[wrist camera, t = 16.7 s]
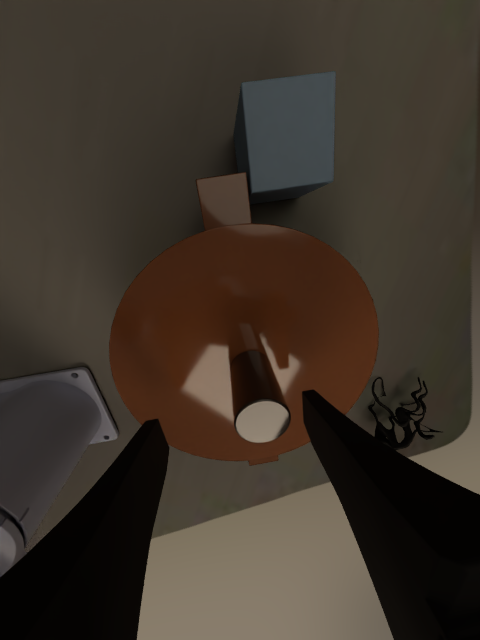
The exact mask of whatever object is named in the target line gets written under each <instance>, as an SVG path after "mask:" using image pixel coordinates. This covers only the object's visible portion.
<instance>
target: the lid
mask: <svg viewBox="0 0 480 640" xmlns="http://www.w3.org/2000/svg"><path fill="white" fill-rule="evenodd" d="M378 338H379V328H378V320H377V314H376V310H375V306H374V303H373V299H372V297H371V295H370V293H369V291H368V288H367V286H366V284H365V283H364V281H363V280H362V278H361V277H360V275H359V274H358V272H357V271H356V269H355V268H354V267H353V266H352V265H351V264H350V263H349V262H348V261H347V260H346V259H345V258H344V257H343V256H342V255H341V254H339V253H338V252H337V251H336V250H334V249H333V248H332V247H331V246H329V245H327V244H326V243H324V242H322V241H320V240H319V239H317V238H315V237H313V236H311V235H308V234H306V233H303V232H300V231H298V230H295V229H291V228H287V227H282V226H277V225H272V224H256V223H247V224H234V225H226V226H222V227H218V228H213V229H209V230H206V231H203V232H200V233H198V234H195V235H193V236H190V237H187V238H185V239H184V240H182V241H180V242H178V243H176V244H175V245H173V246H171V247H169V248H168V249H166V250H165V251H164V252H162V253H161V254H160V255H158V256H157V257H156V258H155V259H153V260H152V261H151V262H150V263H149V264H148V265H147V266H146V267H145V268H144V269H143V270H142V271H141V272H140V273H139V274H138V275H137V276H136V278H135V279H134V281H133V282H132V283H131V285H130V286H129V288H128V289H127V291H126V292H125V294H124V296H123V298H122V300H121V302H120V304H119V306H118V308H117V311H116V314H115V317H114V320H113V324H112V328H111V335H110V342H109V353H110V365H111V370H112V376H113V379H114V382H115V385H116V387H117V390H118V392H119V394H120V396H121V398H122V400H123V402H124V404H125V405H126V407H127V408H128V410H129V411H130V412H131V414H132V415H133V416H134V417H135V419H136V420H137V421H138V422H139V423H140V424H141V425H143V424H144V422H145V421H147V420H153V419H159V422H160V425H161V427H162V430H163V433H164V435H165V438H166V441H167V443H168V445H170V446H172V447H174V448H176V449H179V450H181V451H184V452H186V453H189V454H192V455H195V456H199V457H204V458H208V459H215V460H223V461H248V460H256V459H263V458H268V457H272V456H276V455H280V454H283V453H286V452H289V451H292V450H294V449H296V448H299V447H301V446H303V445H305V444H307V443H309V442H311V441H310V438H309V436H308V433H307V430H306V428H305V425H304V422H303V403H302V391H307V390H312V389H314V390H315V391H317V392H318V393H319V394H320V395H321V396H322V397H324V398H325V399H326V400H327V401H328V402H329V403H331V404H332V405H333V406H334V407H335V408H336V409H338V410H339V411H340V412H341V413H343V414H344V415H345V414H346V413H347V412H348V411H349V410H350V409H351V408H352V406H353V405H354V404H355V402H356V401H357V400H358V398H359V397H360V395H361V394H362V392H363V390H364V389H365V387H366V385H367V383H368V380H369V378H370V376H371V374H372V371H373V367H374V364H375V361H376V356H377V350H378Z"/></svg>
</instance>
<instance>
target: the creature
mask: <svg viewBox="0 0 480 640" xmlns="http://www.w3.org/2000/svg"><path fill="white" fill-rule="evenodd" d="M379 378H380V377H379ZM379 378H377V379H379ZM377 379H375V381H374V382H373V385H372V394H373V396H374V398H375V401H376V402H377V403H378V404H379V405H380V406H382V407H383V408H385V409H386V410H387V411H388V412H389V413H390V415H391V417H389V420H390V422H391V423H392V429H390V430H388V429H386V428H385V427H384V426H383V425H382V423H381V422H379V421H378V419H377V416H376V413H375V412H374V411H373V409H372V407H373V406H374V405H375V401H374V404H372V405H370V406H369V410H370V411H371V413H372V414H373V415H374V417H375V419H376V422H377V425H376V429H375V438H376V439H378V440H379V441H381V442H382V443H384V444H385V445H387V446H389V447H390V448H392V449H393V450H395V451H396V450H399V449H403V448H406V447H408V446H409V445H410V443H411V442H412V440H413V438H414V436H415V433H416V432H418V434H419V435H420V436H421V437H423V438H424V439H426V440H427V439H432V438H433V437H434V435H424V434H423V433H422V432H421V431H422V430H420V422H421V421H422V420H423V418H424V415H425V412H426V406H425V403H424V402H423V401H422V398H424V397H425V396H426V395H427V393H428V391H427V388H426V385H425V382H424V381H423V385H424V387H425V389H426V393H424V394H422V395H420V396H419V397H418V399H417V398H416V394H417V393H419V392H421V390H422V387H421V383H420V379H419V378H418V382H419V384H420V389H419V390H417V391H414V392H412V393H411V396H412V397H413V398H414V400H415V402H414V403H416V404H417V408H416V410H414V411H409V410H407V409H405V408H403V407H398V408H397V409H396V410H395V414H396V416H394V414H393V412H392V411H391V410H390V409H389V408H388V407H387V406H385V405H384V404H382V403H381V402H380V401H379V399H378V398H379V397H378V398H377V396H376V394H375V392H374V385H375V382H376V380H377ZM380 379H381V380H382V378H380ZM382 388H383V392H384V386H383V380H382ZM382 396H386V394H385V392H384V394H383V395H382ZM380 397H381V396H380ZM419 402H420V403H421V406H422V409H423V413H422V414H418V416H420V415H423V417H422V418H421V419H419V420H418V421H415V420H414V419H412V418H411V417H410V414H411V415H417V414H415V413H412V412H416V411H418V410H419V408H420V403H419ZM414 403H411V404H414ZM400 404H401V403H400ZM404 405H410V404H401V406H404ZM395 417H397V419H398V420H397V419H396V418H395ZM392 419H393V420H394V421H395V422H396V423H397V424H398V425H399V426H400V427H402V428H403V430H404V431H405V438H404V439H403V440H402V442H401V443H398V442H397V439H396V435H395V432H394V426H395V423H394V422H393V420H392ZM410 420H414V425H415V427H416V430H414V432H413V433H412V431H411V428H410V423H409V422H410ZM421 425H422V424H421ZM423 426H424V425H423ZM425 427H426V426H425ZM427 428H428V427H427ZM428 429H430V428H428ZM423 432H441V431H435V430H432V429H430V431H423ZM386 437H387V438H388V439H387V438H386ZM396 452H397V451H396Z"/></svg>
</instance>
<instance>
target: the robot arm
mask: <svg viewBox="0 0 480 640" xmlns="http://www.w3.org/2000/svg"><path fill="white" fill-rule="evenodd" d="M75 373H77V374H78V375H76V374H75ZM302 403H303V422H304V425H305V428H306V430H307V433H308V436H309V438H310V441H311V443H312V445H313V447H314V449H315V451H316V453H317V455H318V457H319V459H320V461H321V463H322V465H323V467H324V469H325V471H326V473H327V475H328V477H329V479H330V481H331V483H332V485H333V487H334V489H335V491H336V493H337V495H338V497H339V500H340V502H341V504H342V506H343V509H344V511H345V514H346V516H347V519H348V521H349V523H350V526H351V528H352V531H353V533H354V536H355V538H356V541H357V543H358V545H359V548H360V551H361V553H362V556H363V558H364V561H365V563H366V566H367V569H368V571H369V574H370V577H371V579H372V582H373V584H374V587H375V590H376V592H377V595H378V598H379V600H380V603H381V606H382V608H383V611H384V614H385V616H386V619H387V622H388V625H389V627H390V630H391V633H392V635H393V638H394V640H480V495H479V494H477V493H474V492H472V491H470V490H468V489H466V488H464V487H462V486H460V485H458V484H456V483H453V482H451V481H450V480H448V479H445V478H444V477H442V476H440V475H438V474H436V473H434V472H432V471H430V470H428V469H426V468H425V467H423V466H421V465H419V464H417V463H416V462H414V461H412V460H410V459H408V458H407V457H405V456H403V455H402V454H400V453H398V452H396V451H395V450H393V449H392V448H390V447H389V446H387V445H385V444H384V443H382V442H381V441H379V440H378V439H376V438H375V437H373V436H372V435H370V434H369V433H368V432H366V431H365V430H364V429H362V428H361V427H359V426H358V425H357V424H355V423H354V422H353V421H351V420H350V419H349V418H348V417H346V416H345V415H344V414H343V413H341V412H340V411H339V410H338V409H336V408H335V407H334V406H333V405H332V404H331V403H329V402H328V401H327V400H326V399H325V398H324V397H322V396H321V395H320V394H319V393H318V392H317V391H315V390H314V389H312V390H307V391H302ZM118 435H119V432H118V430H117V428H116V426H115V423H114V421H113V419H112V417H111V415H110V413H109V411H108V409H107V407H106V405H105V402H104V400H103V398H102V396H101V394H100V392H99V390H98V388H97V386H96V383H95V381H94V379H93V377H92V375H91V373H90V371H89V370H88V369H87V368H85V367H78V368H72V369H66V370H60V371H54V372H49V373H43V374H37V375H31V376H25V377H19V378H13V379H7V380H1V381H0V640H137V631H138V623H139V616H140V607H141V601H142V593H143V586H144V579H145V572H146V565H147V559H148V553H149V547H150V541H151V536H152V531H153V527H154V523H155V518H156V514H157V510H158V506H159V502H160V497H161V493H162V489H163V485H164V480H165V476H166V471H167V464H168V455H169V446H168V443H167V441H166V438H165V435H164V433H163V430H162V427H161V425H160V422H159V419H153V420H147V421H145V422H144V424H143V425H142V426H141V427H140V429H139V430H138V431H137V433H136V434H135V435H134V437H133V438H132V439H131V440H130V442H129V443H128V444H127V446H126V447H125V448H124V450H123V451H122V452H121V453H120V455H119V456H118V457H117V458H116V460H115V461H114V462H113V463H112V465H111V466H110V467H109V468H108V469H107V471H106V472H105V473H104V474H103V475H102V477H101V478H100V479H99V480H98V481H97V482H96V484H95V485H94V486H93V487H92V488H91V489H90V491H89V492H88V493H87V494H86V495H85V496H84V497H83V498H82V499H81V500H80V502H79V503H78V504H77V505H76V506H75V507H74V508H73V509H72V510H71V511H70V512H69V513H68V514H67V515H66V516H65V517H64V518H63V519H62V520H61V521H60V522H59V523H58V524H57V525H56V526H55V527H54V528H53V529H52V530H51V531H50V532H49V533H48V534H47V535H46V536H45V537H44V538H43V539H42V540H41V541H40V542H39V543H37V544H36V545H35V546H34V547H33V548H32V549H31V550H30V551H29V552H28V553H27V552H26V551H25V548H26V546H27V544H28V543H29V541H30V540H31V538H32V536H33V535H34V533H35V531H36V530H37V528H38V527H39V525H40V523H41V522H42V520H43V518H44V517H45V515H46V514H47V512H48V510H49V509H50V507H51V506H52V504H53V502H54V501H55V499H56V497H57V496H58V494H59V493H60V491H61V489H62V488H63V486H64V484H65V483H66V481H67V480H68V478H69V476H70V475H71V473H72V472H73V470H74V468H75V467H76V465H77V463H78V462H79V460H80V459H81V457H82V455H83V454H84V452H85V451H86V449H87V447H88V446H89V444H94V443H100V442H105V441H111V440H115V439H117V437H118Z"/></svg>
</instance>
